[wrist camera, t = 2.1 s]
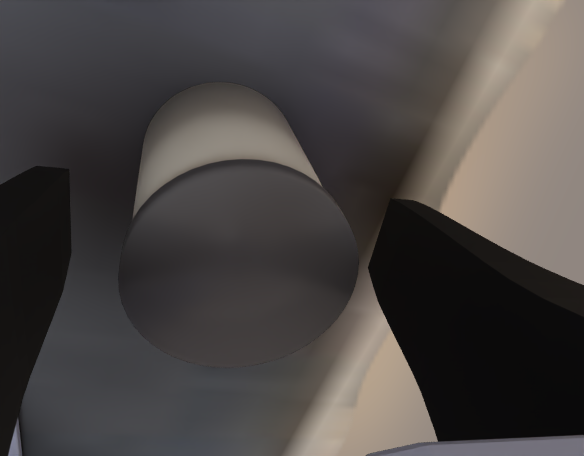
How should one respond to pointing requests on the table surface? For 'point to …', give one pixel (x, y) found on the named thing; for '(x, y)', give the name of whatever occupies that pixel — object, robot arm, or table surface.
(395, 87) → the table surface
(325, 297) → the lens
